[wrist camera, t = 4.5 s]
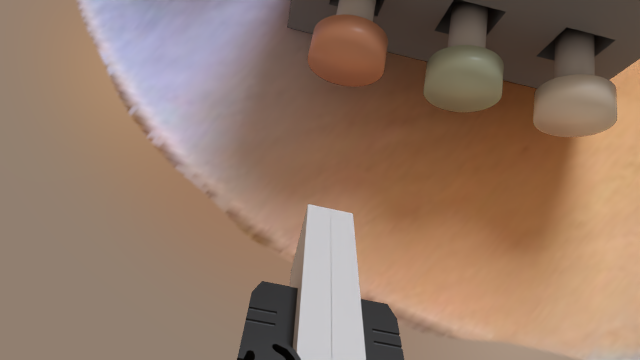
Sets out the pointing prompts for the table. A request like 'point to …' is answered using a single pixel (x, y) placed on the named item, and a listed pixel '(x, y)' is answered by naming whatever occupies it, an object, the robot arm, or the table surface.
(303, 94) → the table surface
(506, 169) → the table surface
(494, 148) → the table surface
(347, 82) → the terracotta button
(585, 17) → the control box
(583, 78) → the ivory button
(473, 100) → the sage button
